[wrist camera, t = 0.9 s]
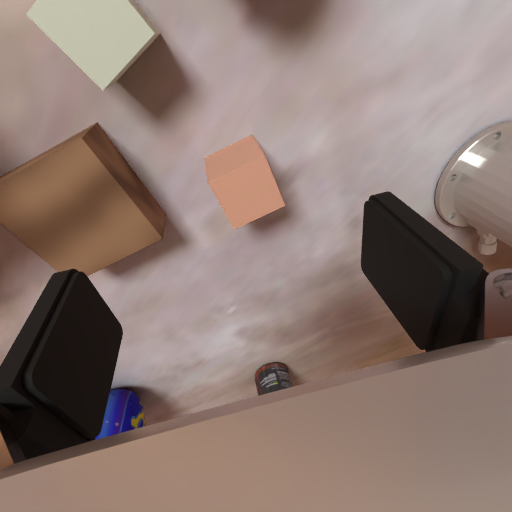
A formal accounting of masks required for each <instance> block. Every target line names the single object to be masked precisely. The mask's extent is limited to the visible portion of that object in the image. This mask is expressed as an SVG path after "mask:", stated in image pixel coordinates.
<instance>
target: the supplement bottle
mask: <svg viewBox="0 0 512 512" xmlns="http://www.w3.org/2000/svg"><path fill="white" fill-rule="evenodd" d="M255 382H256V387H257V391H258V396H260V395H264V394H267V393H271V392H275V391H279V390H282V389H286V388H290V387H293V384H292V381H291V377H290V374H289V371H288V369H287V367H286V366H285V365H284V364H282V363H269V364H267V365H264V366H262V367H261V368H259V370H258V371H257V372H256V374H255Z"/></svg>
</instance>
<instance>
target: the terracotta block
mask: <svg viewBox="0 0 512 512" xmlns="http://www.w3.org/2000/svg"><path fill="white" fill-rule="evenodd" d="M205 165H206V173H207V180H208V184H209V185H210V187H211V189H212V191H213V192H214V194H215V196H216V198H217V200H218V201H219V203H220V205H221V207H222V208H223V210H224V212H225V214H226V215H227V217H228V219H229V221H230V223H231V224H232V226H233V228H234V229H236V228H239V227H241V226H243V225H245V224H247V223H249V222H251V221H254V220H256V219H258V218H260V217H262V216H264V215H266V214H269V213H271V212H273V211H275V210H277V209H279V208H281V207H284V206H285V204H284V201H283V199H282V196H281V194H280V191H279V189H278V186H277V184H276V181H275V179H274V177H273V174H272V172H271V169H270V167H269V164H268V162H267V159H266V157H265V154H264V153H263V151H262V150H261V148H260V146H259V145H258V143H257V142H256V140H255V139H254V137H253V136H252V135H250V136H248V137H246V138H244V139H242V140H240V141H238V142H236V143H234V144H232V145H230V146H228V147H226V148H224V149H222V150H220V151H218V152H216V153H214V154H212V155H210V156H208V157H206V158H205Z"/></svg>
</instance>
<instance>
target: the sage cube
mask: <svg viewBox="0 0 512 512" xmlns="http://www.w3.org/2000/svg"><path fill="white" fill-rule="evenodd" d="M26 15H27V16H28V17H29V18H30V19H31V20H32V21H33V22H34V23H35V24H36V25H37V26H38V27H39V28H40V29H41V30H42V31H43V32H44V33H45V34H46V35H47V36H48V37H49V38H50V39H51V40H52V41H53V42H54V43H55V44H56V45H57V46H58V47H59V48H60V49H61V50H62V51H63V52H64V53H65V54H66V55H68V56H69V57H70V58H71V59H72V60H73V61H74V62H75V63H76V64H77V65H78V66H79V67H80V68H81V69H82V70H83V71H84V72H85V73H86V74H87V75H88V76H89V77H90V78H91V79H92V80H93V81H94V82H95V83H96V84H97V85H98V86H99V87H100V88H101V89H102V90H105V89H106V88H108V87H109V86H111V85H112V84H114V83H115V82H117V81H118V79H119V78H120V77H121V76H122V75H123V74H124V73H125V72H126V71H127V70H128V69H129V67H130V66H131V65H132V64H133V63H134V62H135V61H136V60H137V59H138V58H139V57H140V55H141V54H142V53H143V52H144V51H145V50H146V49H147V48H148V47H149V46H150V44H151V43H152V42H153V41H154V40H155V39H156V38H157V37H158V36H159V35H160V32H159V31H158V30H157V29H156V27H155V26H154V25H153V24H152V22H151V21H150V20H149V18H148V17H147V16H146V15H145V13H144V12H143V11H142V10H141V8H140V7H139V6H138V5H137V3H136V2H135V1H134V0H37V1H36V2H35V3H34V5H33V6H32V7H31V9H30V10H29V11H28V12H27V14H26Z"/></svg>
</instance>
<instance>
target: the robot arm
mask: <svg viewBox="0 0 512 512" xmlns="http://www.w3.org/2000/svg"><path fill="white" fill-rule="evenodd" d="M435 204H436V209H437V211H438V213H439V215H440V216H441V217H442V218H443V219H444V220H446V221H447V222H449V223H450V224H452V225H455V226H460V227H470V226H473V227H474V228H476V229H477V234H478V235H479V236H480V238H479V242H478V251H479V252H480V253H481V254H484V255H491V254H494V253H495V252H496V248H497V238H498V239H499V240H501V241H502V242H504V243H505V244H507V245H508V246H510V247H511V248H512V121H507V122H502V123H499V124H496V125H494V126H491V127H489V128H487V129H485V130H484V131H482V132H480V133H479V134H477V135H476V136H474V137H473V138H472V139H471V140H469V141H468V142H467V143H466V144H465V145H464V146H463V147H462V148H461V149H460V150H459V151H458V152H457V153H456V154H455V155H454V156H453V158H452V159H451V160H450V161H449V163H448V164H447V166H446V168H445V169H444V171H443V173H442V175H441V177H440V179H439V182H438V185H437V189H436V194H435ZM361 268H362V271H363V273H364V274H365V276H366V277H367V278H368V280H369V281H370V283H371V284H372V285H373V287H374V288H375V289H376V291H377V292H378V294H379V295H380V296H381V298H382V299H383V300H384V302H385V303H386V305H387V306H388V307H389V309H390V310H391V311H392V313H393V314H394V316H395V317H396V318H397V320H398V321H399V322H400V324H401V325H402V326H403V328H404V329H405V331H406V332H407V333H408V335H409V336H410V337H411V339H412V340H413V342H414V343H415V344H416V346H417V347H418V348H419V349H421V350H424V349H425V350H426V353H421V354H417V355H413V356H409V357H405V358H401V359H397V360H393V361H389V362H385V363H382V364H378V365H374V366H370V367H366V368H362V369H359V370H355V371H351V372H347V373H343V374H339V375H336V376H332V377H328V378H324V379H320V380H316V381H313V382H309V383H305V384H301V385H297V386H294V387H290V388H286V389H282V390H279V391H275V392H271V393H267V394H264V395H260V396H256V397H252V398H248V399H245V400H241V401H237V402H233V403H230V404H226V405H222V406H219V407H215V408H211V409H207V410H204V411H200V412H196V413H192V414H189V415H185V416H181V417H178V418H174V419H170V420H167V421H163V422H159V423H156V424H152V425H148V426H144V427H141V428H137V429H133V430H130V431H126V432H122V433H119V434H115V435H111V436H108V437H104V438H100V439H97V440H95V437H97V436H98V435H99V434H100V432H101V429H102V425H103V420H104V416H105V411H106V407H107V402H108V398H109V394H110V389H111V385H112V380H113V376H114V371H115V367H116V362H117V358H118V353H119V349H120V344H121V340H122V335H123V331H122V327H121V324H120V323H119V321H118V320H117V319H116V317H115V316H114V314H113V313H112V311H111V310H110V308H109V307H108V306H107V304H106V303H105V301H104V300H103V298H102V297H101V296H100V294H99V293H98V291H97V290H96V288H95V287H94V286H93V284H92V283H91V281H90V280H89V278H88V277H87V275H86V274H85V273H84V272H82V271H80V272H79V271H78V270H76V269H69V270H65V271H61V272H57V273H54V274H53V275H52V276H51V278H50V280H49V282H48V283H47V285H46V287H45V289H44V291H43V292H42V294H41V296H40V298H39V299H38V301H37V303H36V305H35V306H34V308H33V310H32V312H31V313H30V315H29V317H28V319H27V320H26V322H25V324H24V326H23V327H22V329H21V331H20V333H19V334H18V336H17V338H16V340H15V341H14V343H13V345H12V347H11V348H10V350H9V352H8V354H7V355H6V357H5V359H4V361H3V363H2V364H1V366H0V512H512V268H507V269H499V270H496V271H493V272H491V273H490V274H489V273H487V272H486V271H485V270H484V269H482V268H483V264H481V263H480V262H479V261H477V260H476V259H475V258H474V257H472V256H471V255H470V254H469V253H467V252H466V251H465V250H463V249H462V248H461V247H460V246H458V245H457V244H456V243H455V242H453V241H452V240H451V239H449V238H448V237H447V236H446V235H444V234H443V233H442V232H441V231H439V230H438V229H437V228H435V227H434V226H433V225H432V224H430V223H429V222H428V221H427V220H425V219H424V218H423V217H421V216H420V215H419V214H418V213H416V212H415V211H414V210H413V209H411V208H410V207H409V206H407V205H406V204H405V203H404V202H402V201H401V200H400V199H399V198H397V197H396V196H395V195H393V194H392V193H391V192H384V193H380V194H376V195H371V196H370V198H369V201H366V202H365V204H364V216H363V235H362V253H361Z"/></svg>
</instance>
